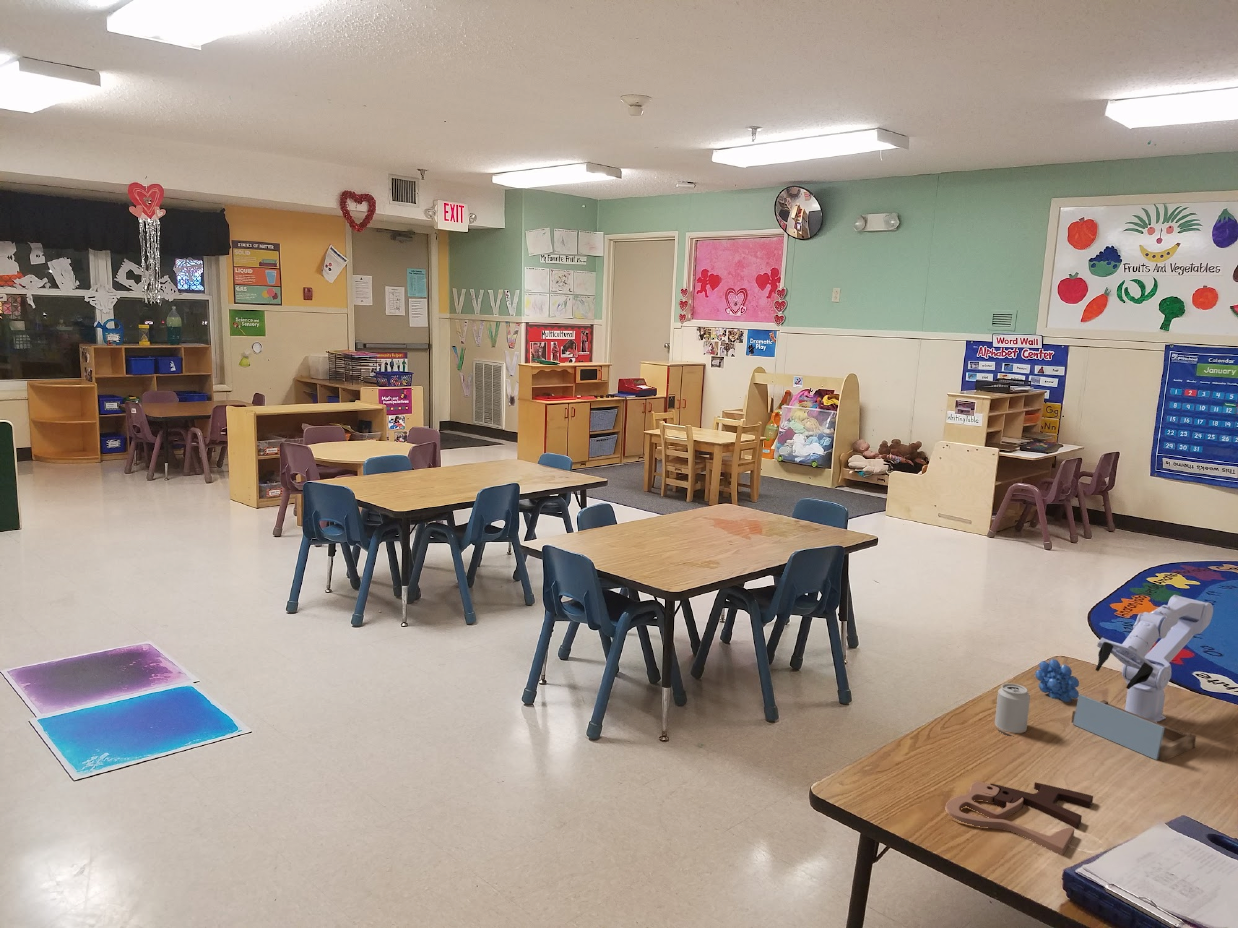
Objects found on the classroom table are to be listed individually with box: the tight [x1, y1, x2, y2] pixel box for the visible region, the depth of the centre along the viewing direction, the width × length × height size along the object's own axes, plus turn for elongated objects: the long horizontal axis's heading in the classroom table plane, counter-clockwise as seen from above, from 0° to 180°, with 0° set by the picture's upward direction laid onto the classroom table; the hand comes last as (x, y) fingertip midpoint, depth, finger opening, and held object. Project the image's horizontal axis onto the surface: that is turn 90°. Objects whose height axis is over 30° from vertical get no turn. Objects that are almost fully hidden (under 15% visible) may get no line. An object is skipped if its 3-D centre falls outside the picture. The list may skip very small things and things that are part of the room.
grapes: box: [1034, 658, 1080, 703], centre depth 247 cm, size 12×7×12 cm, turn 47°
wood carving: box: [944, 781, 1094, 856], centre depth 194 cm, size 28×2×24 cm
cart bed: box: [1071, 700, 1197, 762], centre depth 227 cm, size 14×23×4 cm, turn 31°
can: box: [994, 682, 1031, 738], centre depth 230 cm, size 8×8×12 cm
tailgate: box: [1072, 693, 1165, 761], centre depth 223 cm, size 1×21×8 cm, turn 31°
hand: (1113, 677), depth 225 cm, fingers open, 7 cm apart
